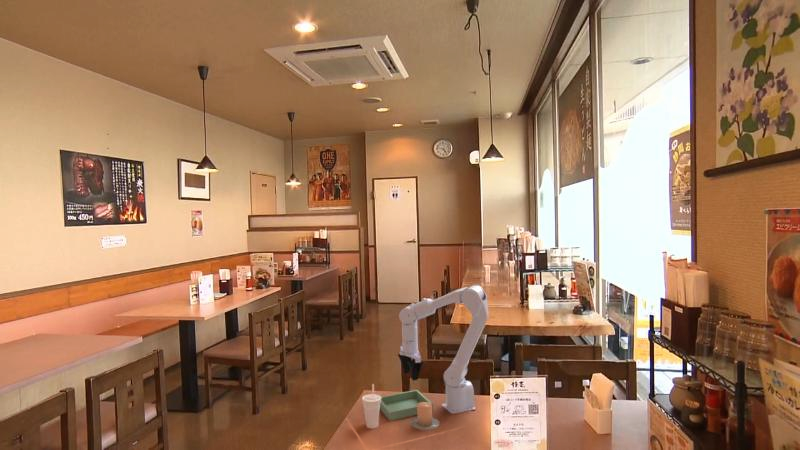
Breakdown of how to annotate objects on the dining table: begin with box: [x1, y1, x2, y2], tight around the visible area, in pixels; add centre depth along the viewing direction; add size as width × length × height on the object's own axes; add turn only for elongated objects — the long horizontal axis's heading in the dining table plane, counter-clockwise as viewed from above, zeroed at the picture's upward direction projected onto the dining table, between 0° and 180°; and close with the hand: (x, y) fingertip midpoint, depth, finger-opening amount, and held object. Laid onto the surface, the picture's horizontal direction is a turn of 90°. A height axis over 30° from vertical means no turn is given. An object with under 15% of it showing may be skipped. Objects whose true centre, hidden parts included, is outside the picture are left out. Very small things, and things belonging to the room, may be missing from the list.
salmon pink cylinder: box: [416, 402, 433, 427], centre depth 141 cm, size 5×5×6 cm
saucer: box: [411, 417, 440, 431], centre depth 141 cm, size 9×9×1 cm
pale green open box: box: [380, 389, 434, 422], centre depth 152 cm, size 16×13×3 cm
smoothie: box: [361, 383, 382, 429], centre depth 140 cm, size 6×6×14 cm
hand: (410, 376), depth 159 cm, fingers open, 7 cm apart
